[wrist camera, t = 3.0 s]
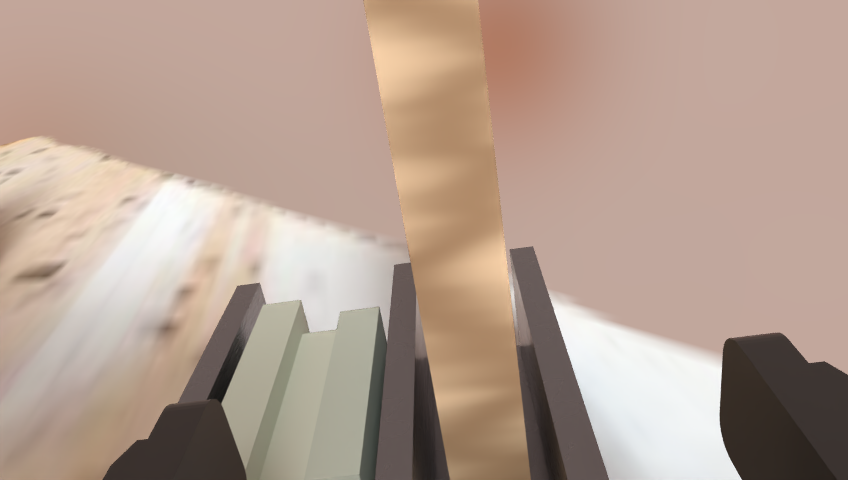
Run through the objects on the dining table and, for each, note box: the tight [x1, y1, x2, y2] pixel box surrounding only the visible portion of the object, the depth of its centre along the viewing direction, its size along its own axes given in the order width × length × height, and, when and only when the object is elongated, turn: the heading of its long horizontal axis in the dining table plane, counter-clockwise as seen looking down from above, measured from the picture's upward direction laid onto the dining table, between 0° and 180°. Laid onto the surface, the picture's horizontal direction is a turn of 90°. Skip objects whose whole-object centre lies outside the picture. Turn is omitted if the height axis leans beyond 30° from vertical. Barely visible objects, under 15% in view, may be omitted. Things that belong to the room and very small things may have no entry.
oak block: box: [363, 0, 531, 480], centre depth 20 cm, size 2×6×20 cm, turn 0°
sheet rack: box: [178, 247, 609, 480], centre depth 24 cm, size 13×14×6 cm
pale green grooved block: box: [221, 300, 387, 480], centre depth 24 cm, size 5×10×5 cm, turn 0°
